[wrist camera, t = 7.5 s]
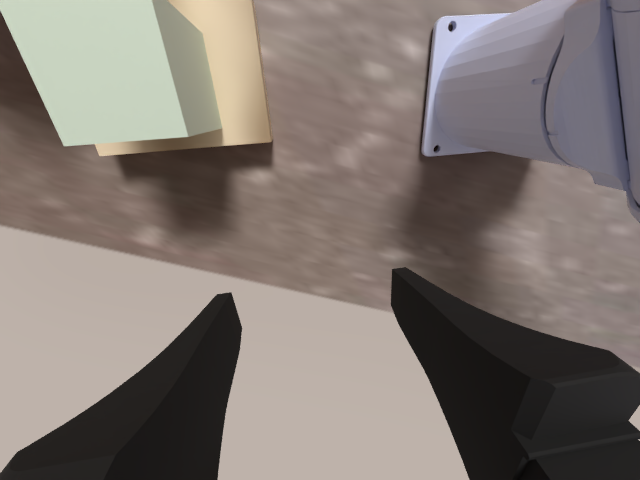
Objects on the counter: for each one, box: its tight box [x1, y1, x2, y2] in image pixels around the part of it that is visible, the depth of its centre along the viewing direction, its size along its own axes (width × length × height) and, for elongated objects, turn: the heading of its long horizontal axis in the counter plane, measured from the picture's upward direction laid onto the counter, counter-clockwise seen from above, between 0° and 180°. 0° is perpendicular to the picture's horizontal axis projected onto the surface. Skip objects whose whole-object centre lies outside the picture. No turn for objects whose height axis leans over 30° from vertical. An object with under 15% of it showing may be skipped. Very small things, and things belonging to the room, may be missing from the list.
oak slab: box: [95, 0, 273, 156], centre depth 15 cm, size 10×7×2 cm
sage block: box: [0, 0, 222, 146], centre depth 12 cm, size 4×4×6 cm
